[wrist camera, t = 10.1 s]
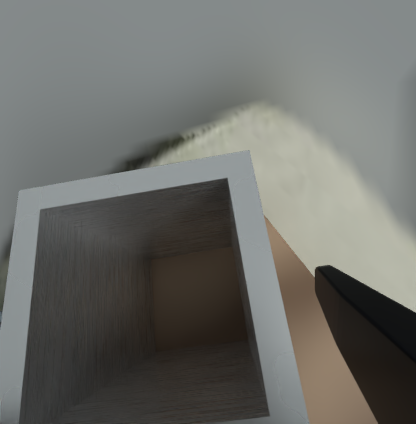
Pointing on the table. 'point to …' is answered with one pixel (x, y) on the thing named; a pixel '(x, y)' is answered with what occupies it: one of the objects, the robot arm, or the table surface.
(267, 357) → the steel sleeve
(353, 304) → the robot arm
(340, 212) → the table surface
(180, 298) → the walnut board
